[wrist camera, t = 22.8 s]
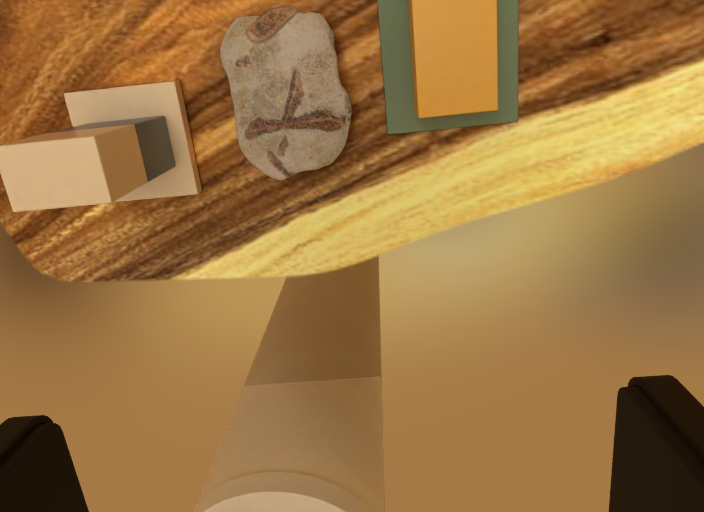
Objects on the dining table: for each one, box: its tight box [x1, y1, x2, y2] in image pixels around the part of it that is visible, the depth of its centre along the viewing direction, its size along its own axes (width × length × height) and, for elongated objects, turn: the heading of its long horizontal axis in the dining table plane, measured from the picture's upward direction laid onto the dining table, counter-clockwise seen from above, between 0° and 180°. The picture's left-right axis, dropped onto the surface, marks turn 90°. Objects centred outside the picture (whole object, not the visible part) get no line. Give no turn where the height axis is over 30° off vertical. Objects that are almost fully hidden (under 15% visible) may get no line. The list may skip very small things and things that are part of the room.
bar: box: [408, 0, 498, 118], centre depth 30 cm, size 4×10×3 cm, turn 6°
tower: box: [0, 81, 202, 212], centre depth 30 cm, size 7×7×10 cm
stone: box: [220, 5, 352, 180], centre depth 32 cm, size 10×7×3 cm
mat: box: [377, 0, 518, 134], centre depth 31 cm, size 12×8×1 cm, turn 6°
